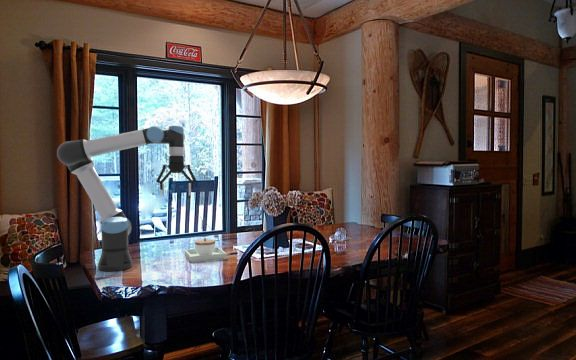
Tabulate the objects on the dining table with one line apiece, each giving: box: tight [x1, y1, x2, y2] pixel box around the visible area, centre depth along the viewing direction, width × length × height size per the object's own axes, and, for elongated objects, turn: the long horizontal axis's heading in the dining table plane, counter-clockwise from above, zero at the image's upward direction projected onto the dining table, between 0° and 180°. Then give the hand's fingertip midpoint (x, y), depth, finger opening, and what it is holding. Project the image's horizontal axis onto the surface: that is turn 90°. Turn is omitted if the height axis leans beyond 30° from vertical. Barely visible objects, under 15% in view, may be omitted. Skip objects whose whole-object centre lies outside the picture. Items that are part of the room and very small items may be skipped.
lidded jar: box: [194, 237, 216, 255], centre depth 218 cm, size 11×11×9 cm
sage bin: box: [184, 246, 228, 263], centre depth 218 cm, size 19×19×3 cm
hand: (176, 195), depth 215 cm, fingers open, 13 cm apart
